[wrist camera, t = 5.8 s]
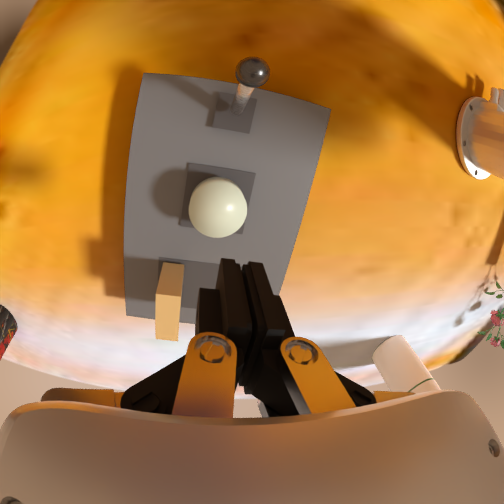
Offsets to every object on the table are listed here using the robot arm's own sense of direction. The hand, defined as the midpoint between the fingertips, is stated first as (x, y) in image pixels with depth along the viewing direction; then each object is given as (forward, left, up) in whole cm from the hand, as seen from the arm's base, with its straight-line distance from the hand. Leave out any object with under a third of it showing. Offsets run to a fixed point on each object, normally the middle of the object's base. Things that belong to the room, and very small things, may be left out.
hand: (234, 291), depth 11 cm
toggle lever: (-7, 0, -12) cm, 14 cm away
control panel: (+2, 0, -16) cm, 17 cm away
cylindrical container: (+22, +34, -17) cm, 44 cm away
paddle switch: (+9, -3, -13) cm, 17 cm away
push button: (0, 0, -12) cm, 12 cm away
